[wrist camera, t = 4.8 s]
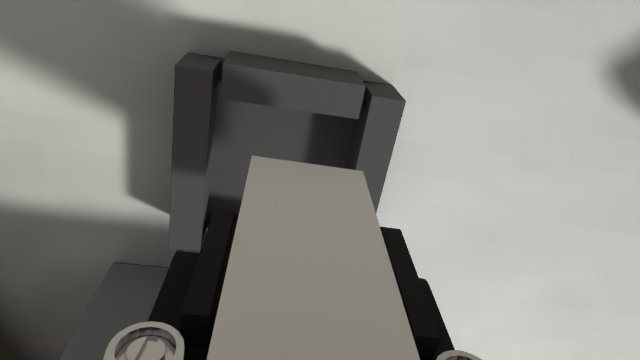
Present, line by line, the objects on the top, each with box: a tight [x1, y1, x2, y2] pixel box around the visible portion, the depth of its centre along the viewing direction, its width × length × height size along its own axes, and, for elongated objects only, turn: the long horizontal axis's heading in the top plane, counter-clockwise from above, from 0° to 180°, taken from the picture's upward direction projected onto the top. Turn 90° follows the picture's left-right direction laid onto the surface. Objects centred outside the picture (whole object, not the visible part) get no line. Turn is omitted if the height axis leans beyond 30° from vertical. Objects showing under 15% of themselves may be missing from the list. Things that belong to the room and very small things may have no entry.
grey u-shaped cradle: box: [169, 51, 406, 251], centre depth 18 cm, size 8×8×2 cm
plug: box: [207, 156, 420, 360], centre depth 10 cm, size 4×4×10 cm
